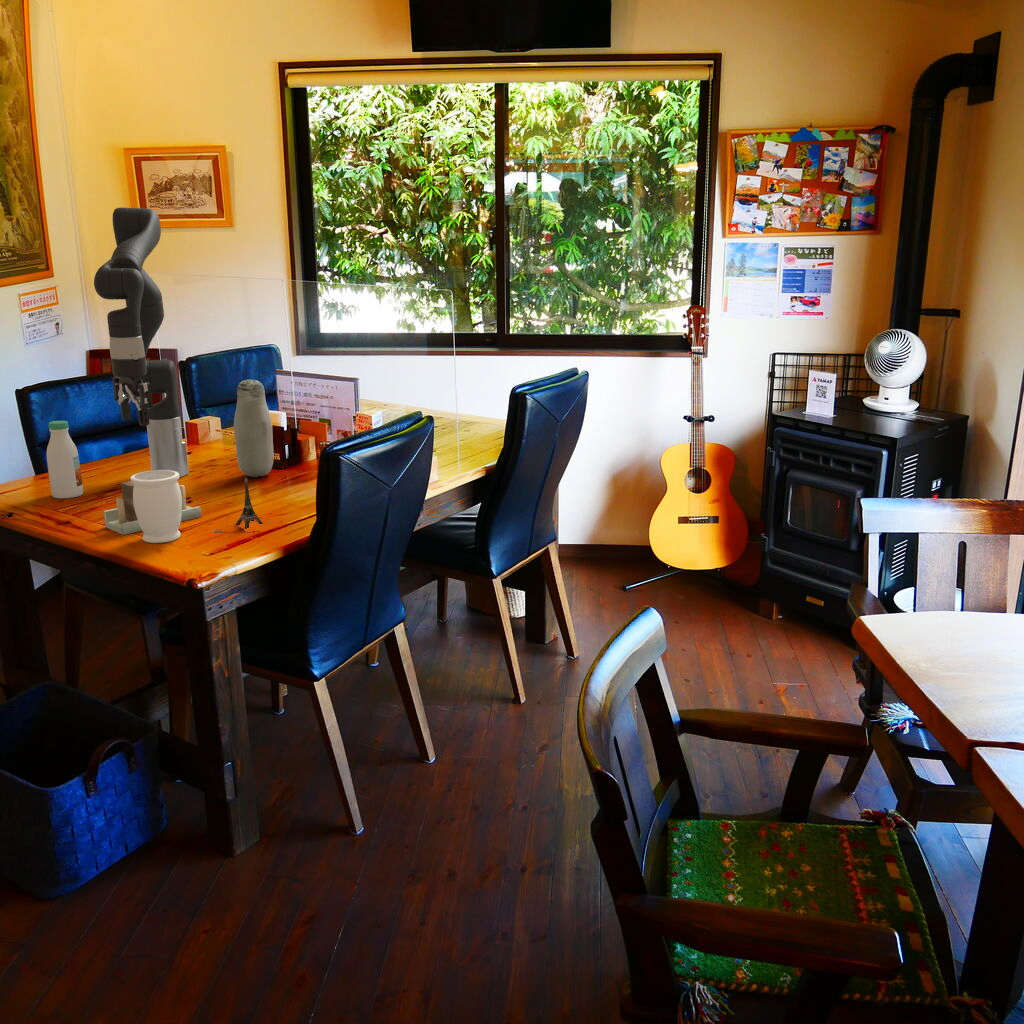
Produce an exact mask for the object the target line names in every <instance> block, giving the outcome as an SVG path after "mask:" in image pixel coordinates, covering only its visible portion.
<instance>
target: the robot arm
mask: <svg viewBox="0 0 1024 1024" xmlns="http://www.w3.org/2000/svg"><path fill="white" fill-rule="evenodd" d="M160 220H161V219H160V217H159V214H158V212H156V211H155V210H154V209H151V208H145V207H144V208H143V207H142V208H141V207H116V208H115V209H114V210H113V213H112V228H113V235H114V239H115V243H116V247H115V249H114V250H113V252H112V255H111V258H110V259H109V260H107V261H106V262H105V263H103V264H102V265H101V266H100V267H99V268H97V271H96V273H95V275H94V278H93V287H94V290H95V293H97V295H98V296H100V297H101V298H102V299H104V300H109V301H110V300H113V301H114V300H116V301H117V300H119V301H120V300H125V306H126V307H123V308H120V309H119V308H118V309H113V310H111V311H109V312H108V313H107V317H106V318H107V319H106V320H107V327H108V336H109V353H110V361H111V368H112V369H111V370H112V375H113V377H112V387H113V388H112V390H113V398H114V401H115V402H118V405H119V406H120V415H121V419H122V420H123V421H129V420H131V419H132V418H133V416H132V408H131V404H130V403H131V402H132V403H134V404H135V406H136V408H137V415H138V424H139V426H142V427H145V426H146V431H147V440H148V449H149V450H148V452H149V459H150V468H151V470H150V471H153V470H171V471H176V472H178V473H179V478H181V477H184V476H186V475H189V474H190V472H189V460H188V451H187V443H186V441H185V440H184V441H183V432H182V420H181V413H180V411H181V410H180V404H179V392H178V391H179V388H178V371H177V365H176V364H175V362H174V361H173V360H171V359H161V360H160V359H154V360H148V359H147V358H146V357H147V353H148V351H149V350H148V349H149V347H150V346H151V343H152V341H153V339H154V337H155V336H156V334H157V332H158V330H159V329H160V327H161V325H162V324H163V321H164V319H165V311H164V304H163V303H164V302H163V296H162V292H161V290H160V288H159V286H158V285H157V283H156V282H155V281H154V279H152V277H151V276H150V275H149V274H148V273H147V271H146V270H145V269H144V268H143V265H144V263H145V261H146V259H147V258H148V257H149V255H150V254H151V253H152V252H153V250H155V248H156V247H157V246H158V244H159V241H160V239H161V235H162V227H161V226H162V225H161V221H160ZM153 394H166V396H165V397H164V398H163V399H162V400H160V401H158V402H157V403H153V396H152V395H153Z"/></svg>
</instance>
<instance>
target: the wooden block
mask: <svg viewBox="0 0 1024 1024" xmlns="http://www.w3.org/2000/svg"><path fill="white" fill-rule="evenodd" d="M177 482H178V483H179V479H178V480H177ZM120 486H121V495H122V497H121V498H123V499H124V507H125V516H126V520H128V521H131V522H132V521H136V520H138V519H137V516H136V513H135V509H134V504H133V488H134V484H133V483H132V482H131V480H129V481H125V482H120Z"/></svg>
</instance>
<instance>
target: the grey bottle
mask: <svg viewBox="0 0 1024 1024" xmlns="http://www.w3.org/2000/svg"><path fill="white" fill-rule="evenodd" d="M236 394H237V399H236V408H235V412H234V417H233V429H234V430H233V431H234V434H233V435H234V442H235V444H234V445H235V451H236V460H237V466H238V468H239V469H240V471H241V473H243V474H244V475H245V474H246V477H247V476H248V477H251V478H259V476H260V477H264V476H266V475H268V474H269V473H270V472H271V471H272V468H273V465H274V460H275V459H274V457H275V456H274V442H273V441H274V439H273V437H274V435H273V422H272V417H271V414H270V411H269V407H268V405H267V401H266V391H265V387H264V385H263V383H261V381H258V380H256V379H245V380H242V381H241V382H239V383H238V386H237V388H236Z"/></svg>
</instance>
